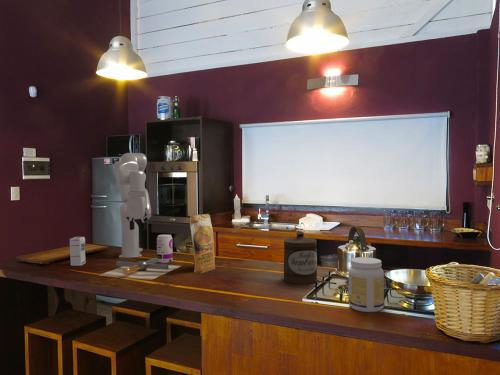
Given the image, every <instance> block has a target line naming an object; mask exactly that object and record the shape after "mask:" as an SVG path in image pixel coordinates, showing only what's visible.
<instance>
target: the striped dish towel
mask: <svg viewBox="0 0 500 375" xmlns="http://www.w3.org/2000/svg"><path fill="white" fill-rule="evenodd" d="M167 265H168V267H169V269H167V270H163V269H150V268H147V270H143V271H138V270H136V271H134V272H131V273H130V274H123V269H124V268H129V267H123V266H119V267H118V268H115V269H112V270H109V271H106V272H104V273H100V274H99V276H104V277H114V278H116V277H117V278H126V279H139V280H149V281H152V280H154V279H156V278H159V277H160V276H164V275H165V274H167V273H169V272H171V271H173V270H177V269H178V268H180V267H181V265H173V264H167Z"/></svg>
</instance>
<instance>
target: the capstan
mask: <svg viewBox="0 0 500 375" xmlns="http://www.w3.org/2000/svg"><path fill="white" fill-rule="evenodd" d="M115 262H116V263H115V266H116V267H129V268H124V269H123V274H130V273H131V272H134V271H136V270H138V271H143V270H147V268H150V269H163V270H167V269H169V267H168V265H169V264H164V263H160V262H159V258H157V257H153V258H151V259H148V260H139V261H136V262H135V261H134V262H133V261H119V260H118V261H115Z"/></svg>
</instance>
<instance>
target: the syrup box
mask: <svg viewBox="0 0 500 375" xmlns="http://www.w3.org/2000/svg"><path fill="white" fill-rule="evenodd" d="M69 253H70V254H69V255H70V266H72V267H73V266H75V267H76V266H77V267H79V266H84V264H86V263H87V260H86V258H87V257H86V256H87V255H86V238H85V236H74V237H71V238H69Z"/></svg>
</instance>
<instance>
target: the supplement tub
mask: <svg viewBox="0 0 500 375" xmlns="http://www.w3.org/2000/svg"><path fill="white" fill-rule="evenodd" d="M350 265H351V266H350V267H349V269H348V306H349V307H350V306H351V307H352V308H351V307H350V308H351V309H353V310H354V311H357V312H363V313H376V312H380V311H382V310H383V309H384V308H385V272H384V270H383V268H382V266H383V264H382V260H381V259H378V258H374V257H366V256H365V257H363V256H360V257H352V258H351V259H350ZM382 308H383V309H382ZM381 309H382V310H381ZM379 310H380V311H379Z"/></svg>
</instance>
